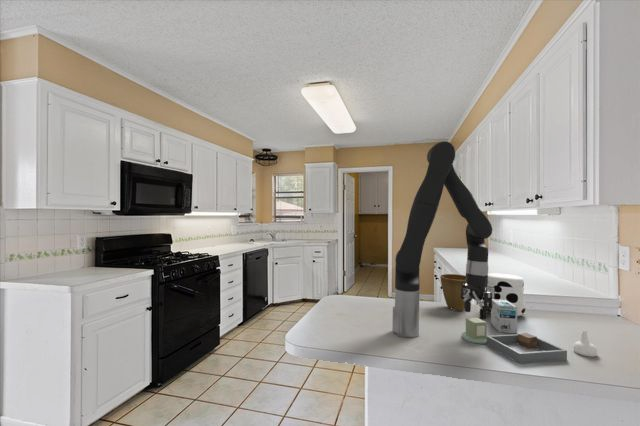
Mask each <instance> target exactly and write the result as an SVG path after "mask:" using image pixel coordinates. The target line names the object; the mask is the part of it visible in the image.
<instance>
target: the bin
mask: <svg viewBox="0 0 640 426" xmlns="http://www.w3.org/2000/svg"><path fill="white" fill-rule="evenodd" d="M518 334H519V333H512V334H498V335H496V334H494V335H487V344H486V345H487V346H489V347H490V348H492V349H494V350H495V351H498V352H499V353H501V354H502V355H504V356H506V357H508V358H509V359H511V360H513V361H514V362H516V363H518V364H529V363H530V364H532V363H543V362H544V363H545V362H557V361H558V362H559V361H568V350H567V349H564V348H562V347H560V346H557V345H556V344H553V343H551V342H548V341H546V340H544V339H541V338H539V337H537V348H538V349H541V351H526V352H519V351H518V350H515V349H514V348H512V347H510V346H508V345H512V344H513V345H514V344H515V345H518Z"/></svg>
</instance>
